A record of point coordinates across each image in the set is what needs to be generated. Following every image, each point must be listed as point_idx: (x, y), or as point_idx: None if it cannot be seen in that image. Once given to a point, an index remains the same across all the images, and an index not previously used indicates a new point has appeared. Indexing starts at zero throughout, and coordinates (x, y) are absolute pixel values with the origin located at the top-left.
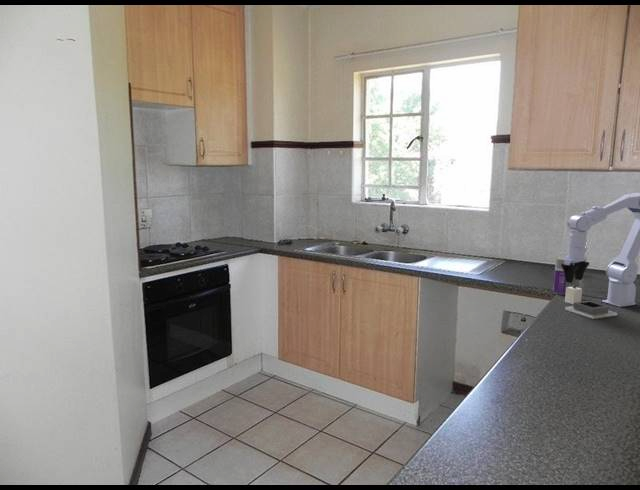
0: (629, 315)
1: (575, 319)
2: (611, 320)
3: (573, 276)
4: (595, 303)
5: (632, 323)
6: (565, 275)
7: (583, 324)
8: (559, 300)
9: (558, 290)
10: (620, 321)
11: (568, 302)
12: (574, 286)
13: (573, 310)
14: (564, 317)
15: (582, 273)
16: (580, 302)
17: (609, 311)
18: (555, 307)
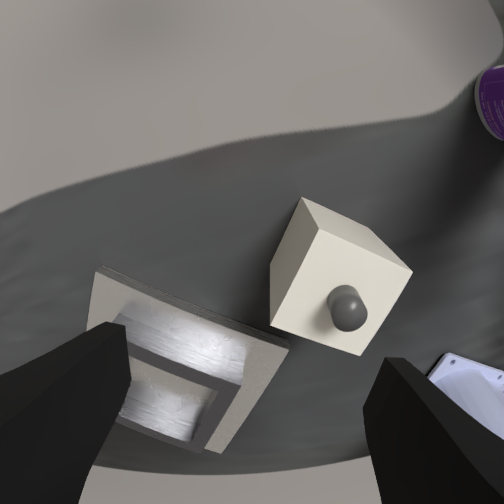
0: (268, 464)
1: (24, 339)
2: (134, 434)
3: (87, 448)
4: (206, 414)
5: (166, 471)
6: (40, 366)
7: (11, 366)
8: (310, 155)
9: (490, 102)
10: (152, 451)
11: (287, 228)
12: (331, 316)
13: (90, 319)
14: (7, 301)
15: (379, 486)
16: (147, 357)
17: (216, 436)
18: (98, 208)
